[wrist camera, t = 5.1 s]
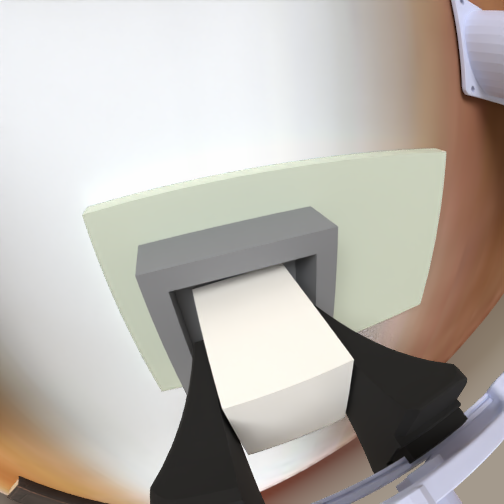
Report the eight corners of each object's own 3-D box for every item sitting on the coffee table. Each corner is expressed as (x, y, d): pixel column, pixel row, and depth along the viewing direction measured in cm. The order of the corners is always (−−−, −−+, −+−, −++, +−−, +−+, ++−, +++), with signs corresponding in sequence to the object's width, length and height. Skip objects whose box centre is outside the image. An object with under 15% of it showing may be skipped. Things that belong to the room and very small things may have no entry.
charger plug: (280, 261, 13) (353, 359, 8) (289, 326, 15) (344, 417, 10) (191, 289, 12) (222, 409, 7) (215, 350, 14) (248, 455, 9)
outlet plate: (434, 148, 16) (476, 162, 13) (412, 297, 22) (439, 322, 19) (87, 207, 12) (66, 240, 9) (160, 379, 18) (166, 423, 15)
